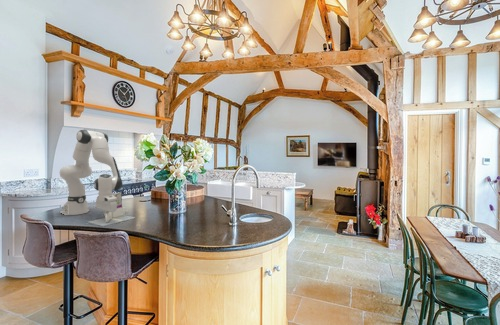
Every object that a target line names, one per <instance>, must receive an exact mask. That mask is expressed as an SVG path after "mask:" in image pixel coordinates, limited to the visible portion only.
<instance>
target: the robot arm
mask: <svg viewBox="0 0 500 325" xmlns="http://www.w3.org/2000/svg"><path fill="white" fill-rule="evenodd" d="M76 140H77V142H76V143H75V148H74V151H73V153H72V154H73V155H72V158H73V160H74V161H75V165H66V166H63V167H61V168H60V170H59V176H60V177H61V179H63V180H64V181H65V183H66V184H67V188H68V196H67V200H66V202H65V203H64V204H63V206H62V210H61V211H59V213H60V214H61V213H62V214H61V215H63V214H64V215H63V216H74V215H75V216H77V215H83V214H86V213H88V212H89V211H90V209H89V203H88V201H87V195H86V187H85V185H84V184H83V183H82V182H81V179H85V178H88V177H90V176H91V175H92V172H93V170H92V167H91V166H90V156H91V153H92V157H93V159H94V160H95V161H96V162H98V163H101V164H104V165H107V166H109V167H110V170H111V173H112V175H111V174H108V173H104V174H100V175H99V176H98V178H96V179H95V180H94V182H93V183H94V189H95V190H96V191H98V195H97V197H96V199H95V208H96V209H97V210H102V211H103V217H105V214H106V213H107V212H108V211H109V212H115V211H116V210H117V202H116V200H117V198H116V197H115V196H114V195H113V191H119V190H120V189H121V188H122V187H123V183H124V182H123V180H122V177H121V174H120V171H119V168H118V165H117V161H116V158H115V157H113V156H112V155H111V153H110V151H109V150H110V148H109V143H108V142H109V136H108V134H107V133H104V132H101V131H100V132H99V131H95V130H87V129H80V130H79V131H78V132H77V133H76ZM112 176H113V177H112Z"/></svg>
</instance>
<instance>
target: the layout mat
mask: <svg viewBox="0 0 500 325" xmlns="http://www.w3.org/2000/svg"><path fill="white" fill-rule="evenodd" d="M134 218H135V219H136V217H134V216H130V215H129V216H128V215H125V216H118V217H113V218H112V219H110V220H109V221H108V222H105V217H102V218H98V219H94V220H89V221H87V223H88V224H91V225H95V226H99V227H100V226H101V227H106V226H111V225H115V224H118V223H123V222H127V221H130V219H131V220H134ZM126 220H127V221H126Z"/></svg>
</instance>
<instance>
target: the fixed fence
mask: <svg viewBox="0 0 500 325" xmlns="http://www.w3.org/2000/svg"><path fill="white" fill-rule="evenodd" d="M125 209H126V207H125V206H123V205H122V208H117V210H116V211H115V212H112V218H113V217H118V216H125V214H126V213H125V211H126V210H125ZM112 218H111V219H112Z"/></svg>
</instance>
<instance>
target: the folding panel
mask: <svg viewBox="0 0 500 325" xmlns="http://www.w3.org/2000/svg"><path fill="white" fill-rule="evenodd" d="M104 218H105V222H108V221H109V220H110V219H111V218H112V212H109V211H108V212H107V213H106V214H105V216H104Z"/></svg>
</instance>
